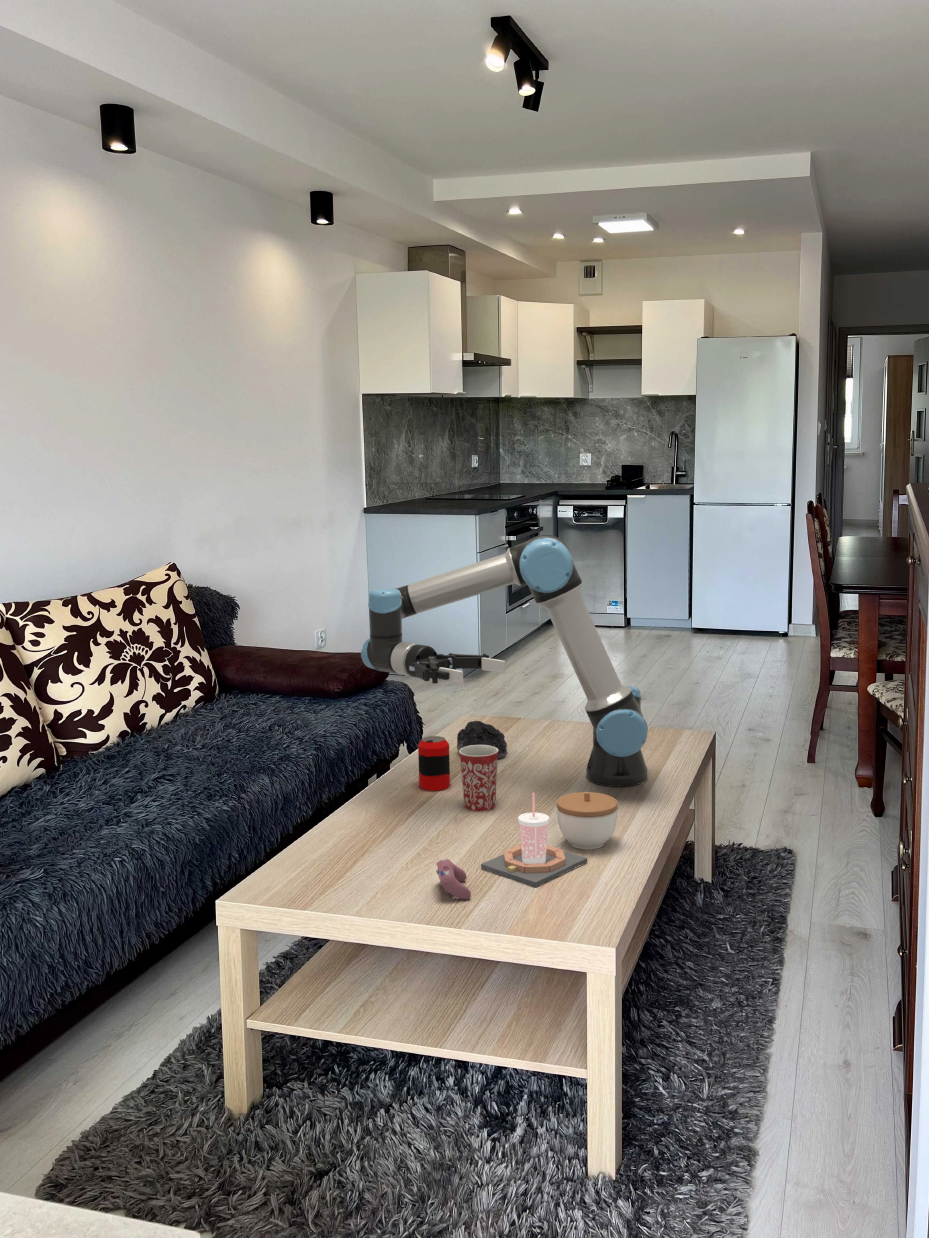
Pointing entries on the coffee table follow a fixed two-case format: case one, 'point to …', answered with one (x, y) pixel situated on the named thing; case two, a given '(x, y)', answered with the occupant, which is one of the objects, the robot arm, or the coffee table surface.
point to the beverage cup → (533, 835)
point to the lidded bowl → (587, 818)
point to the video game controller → (453, 879)
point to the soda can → (434, 763)
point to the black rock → (482, 737)
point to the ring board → (533, 865)
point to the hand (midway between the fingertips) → (483, 672)
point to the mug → (479, 776)
